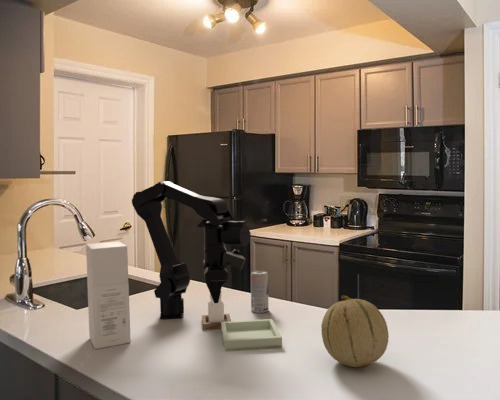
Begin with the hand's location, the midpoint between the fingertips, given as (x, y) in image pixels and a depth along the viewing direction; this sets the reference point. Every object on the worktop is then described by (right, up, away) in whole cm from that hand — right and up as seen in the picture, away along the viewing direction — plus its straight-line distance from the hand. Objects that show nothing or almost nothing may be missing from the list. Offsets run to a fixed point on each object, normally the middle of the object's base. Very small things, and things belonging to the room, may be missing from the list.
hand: (215, 298), depth 130 cm
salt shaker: (0, -8, 0) cm, 8 cm away
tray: (+10, -8, -11) cm, 17 cm away
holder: (0, -7, 0) cm, 7 cm away
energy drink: (+13, -7, +12) cm, 19 cm away
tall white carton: (-27, -9, -11) cm, 30 cm away
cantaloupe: (+33, -9, -28) cm, 44 cm away
